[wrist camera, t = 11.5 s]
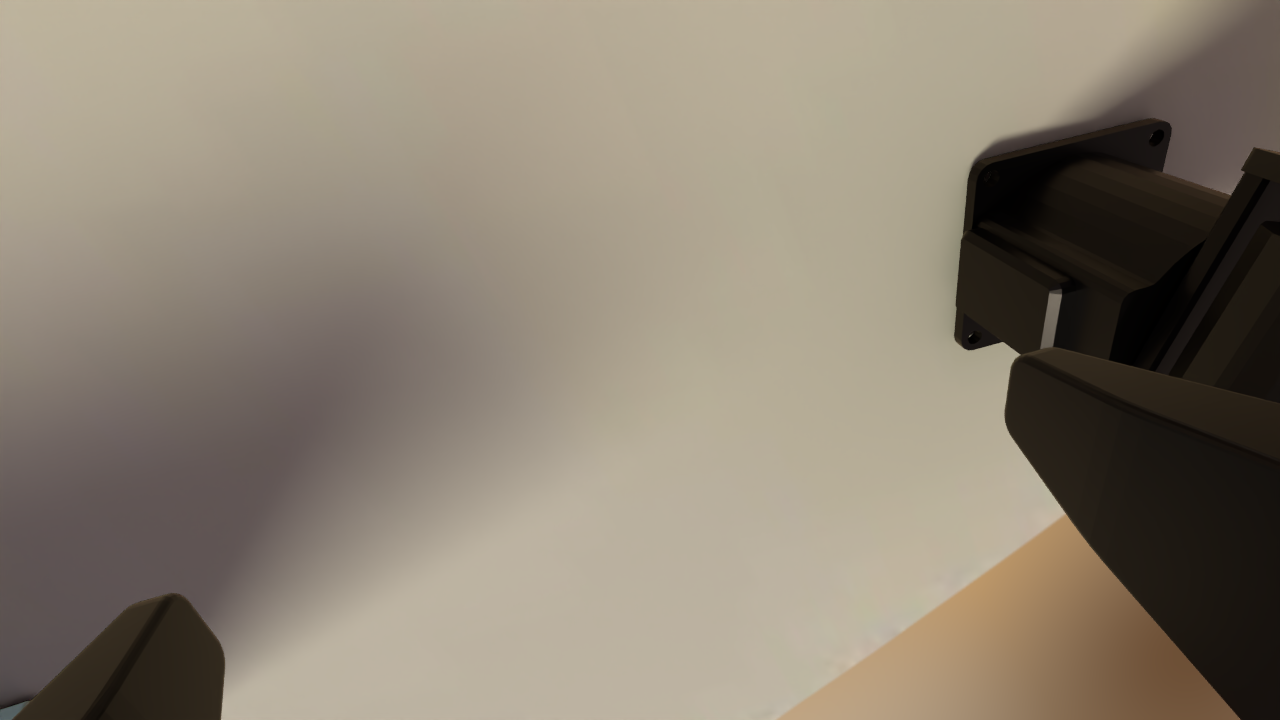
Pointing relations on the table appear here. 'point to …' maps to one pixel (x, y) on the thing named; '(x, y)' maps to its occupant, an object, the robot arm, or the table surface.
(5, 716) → the gum box
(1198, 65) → the table surface
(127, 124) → the table surface
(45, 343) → the table surface
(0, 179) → the table surface
